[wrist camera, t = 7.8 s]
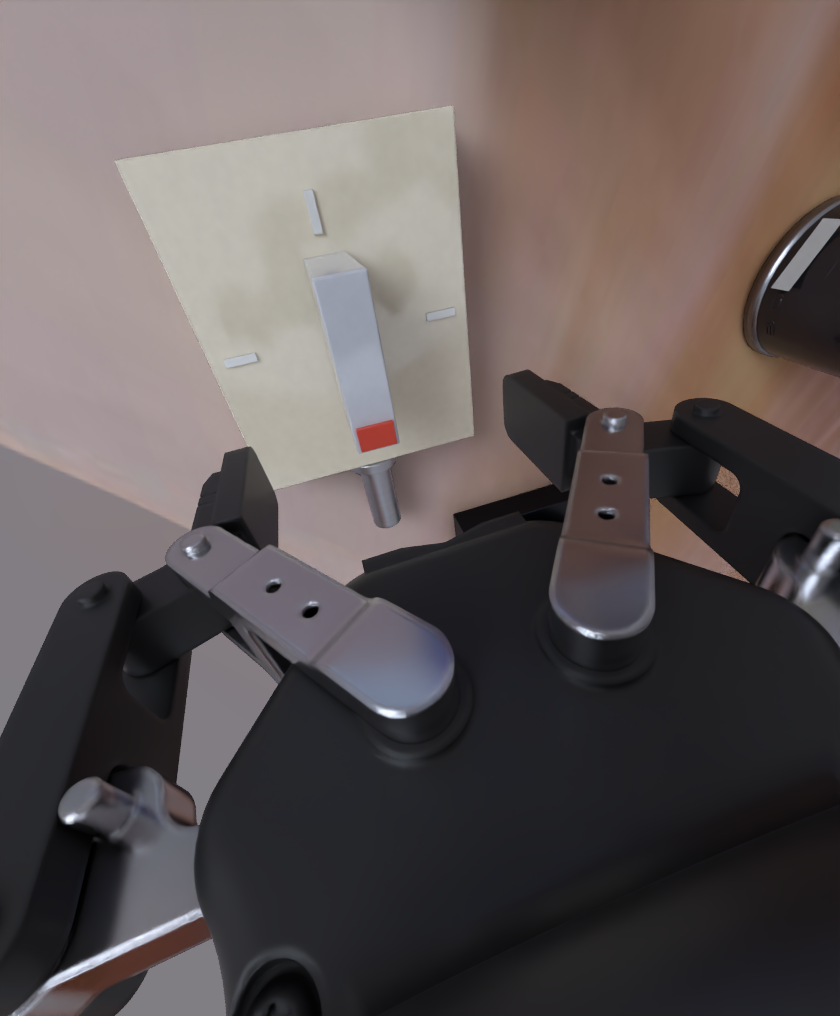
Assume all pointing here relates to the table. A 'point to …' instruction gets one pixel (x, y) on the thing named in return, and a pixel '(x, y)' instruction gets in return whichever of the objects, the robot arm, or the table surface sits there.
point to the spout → (381, 492)
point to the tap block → (285, 288)
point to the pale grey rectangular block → (353, 347)
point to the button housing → (518, 508)
